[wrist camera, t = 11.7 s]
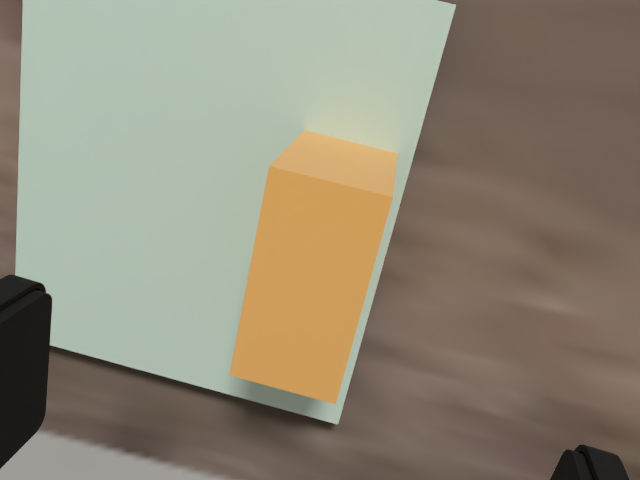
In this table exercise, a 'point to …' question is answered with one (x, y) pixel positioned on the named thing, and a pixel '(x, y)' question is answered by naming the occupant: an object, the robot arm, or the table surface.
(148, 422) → the table surface
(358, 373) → the table surface
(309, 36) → the lid
